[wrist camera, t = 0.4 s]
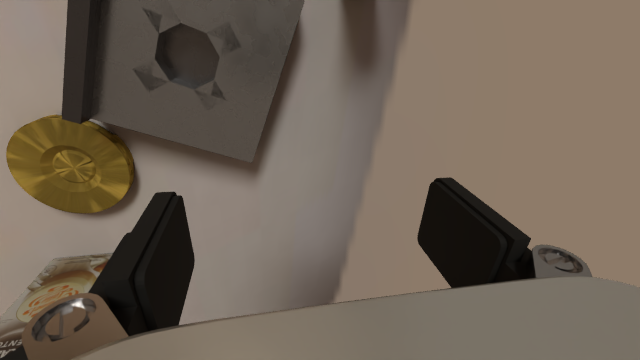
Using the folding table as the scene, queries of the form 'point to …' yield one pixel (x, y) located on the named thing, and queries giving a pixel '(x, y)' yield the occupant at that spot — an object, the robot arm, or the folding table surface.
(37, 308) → the coffee box
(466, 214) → the robot arm
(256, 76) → the jig
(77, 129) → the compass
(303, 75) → the folding table surface
